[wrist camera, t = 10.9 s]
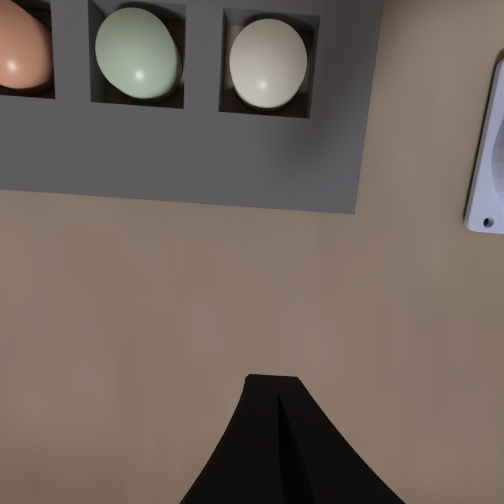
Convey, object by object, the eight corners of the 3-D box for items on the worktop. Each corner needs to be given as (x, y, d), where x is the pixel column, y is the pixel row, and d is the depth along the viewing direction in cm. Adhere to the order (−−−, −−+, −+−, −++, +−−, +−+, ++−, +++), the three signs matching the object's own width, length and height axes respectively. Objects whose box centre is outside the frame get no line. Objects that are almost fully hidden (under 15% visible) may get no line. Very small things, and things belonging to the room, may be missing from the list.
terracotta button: (60, 19, 15) (35, -1, 13) (63, 96, 15) (40, 86, 14) (-13, 13, 15) (-46, -8, 13) (-6, 91, 15) (-37, 80, 14)
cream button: (304, 39, 15) (310, 22, 13) (297, 114, 16) (302, 106, 14) (234, 33, 15) (231, 15, 13) (230, 109, 16) (227, 100, 14)
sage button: (183, 29, 15) (174, 11, 13) (181, 105, 16) (172, 96, 14) (111, 24, 15) (94, 4, 13) (113, 100, 15) (96, 90, 14)
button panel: (381, -68, 14) (396, -96, 13) (345, 211, 17) (354, 214, 15) (-92, -110, 14) (-132, -144, 12) (-55, 182, 16) (-85, 183, 15)
